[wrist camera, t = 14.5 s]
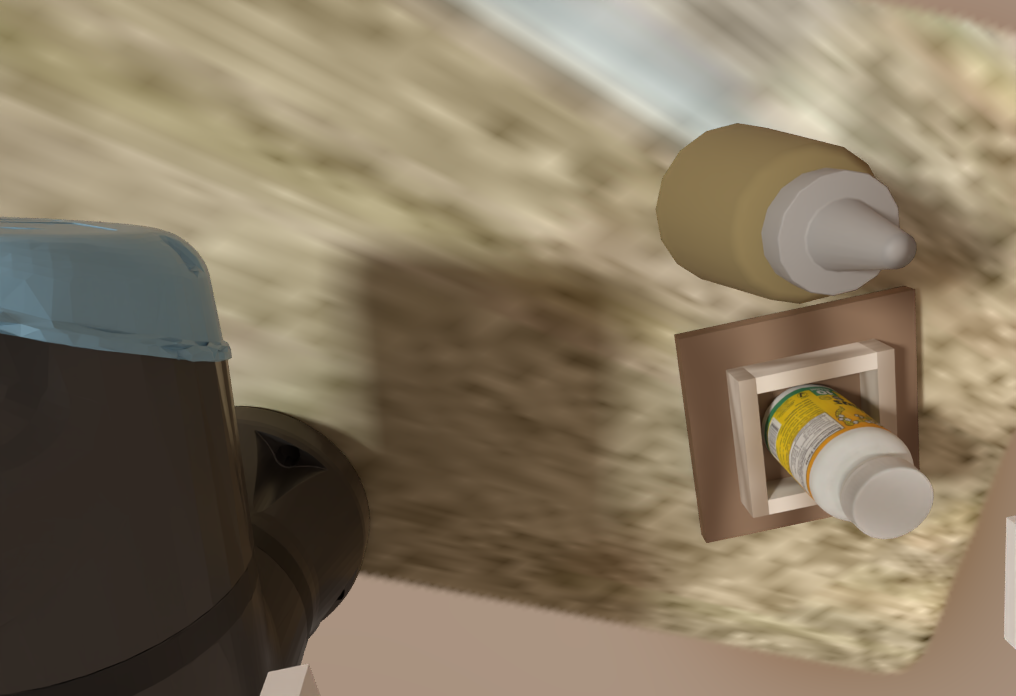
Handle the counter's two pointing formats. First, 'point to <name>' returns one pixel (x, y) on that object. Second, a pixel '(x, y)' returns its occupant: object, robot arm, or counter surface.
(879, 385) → the collar holder
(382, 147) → the counter surface
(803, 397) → the supplement bottle
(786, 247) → the squeeze bottle
